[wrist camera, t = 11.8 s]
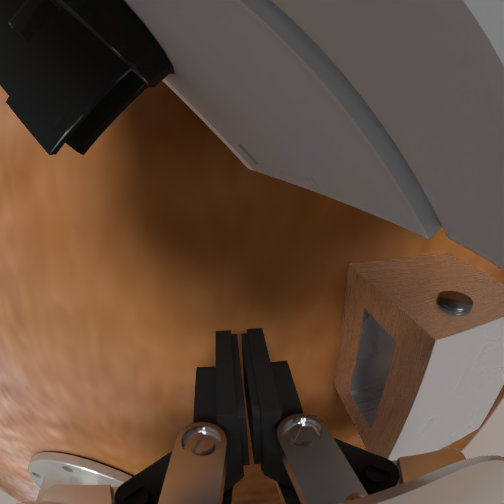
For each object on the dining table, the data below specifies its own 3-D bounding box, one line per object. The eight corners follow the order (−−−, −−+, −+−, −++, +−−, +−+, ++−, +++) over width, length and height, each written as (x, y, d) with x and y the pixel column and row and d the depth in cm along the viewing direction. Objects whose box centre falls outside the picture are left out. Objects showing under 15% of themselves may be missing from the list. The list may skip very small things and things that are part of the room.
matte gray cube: (420, 361, 16) (478, 427, 10) (333, 383, 15) (379, 474, 9) (446, 250, 13) (536, 299, 7) (347, 259, 13) (437, 335, 7)
